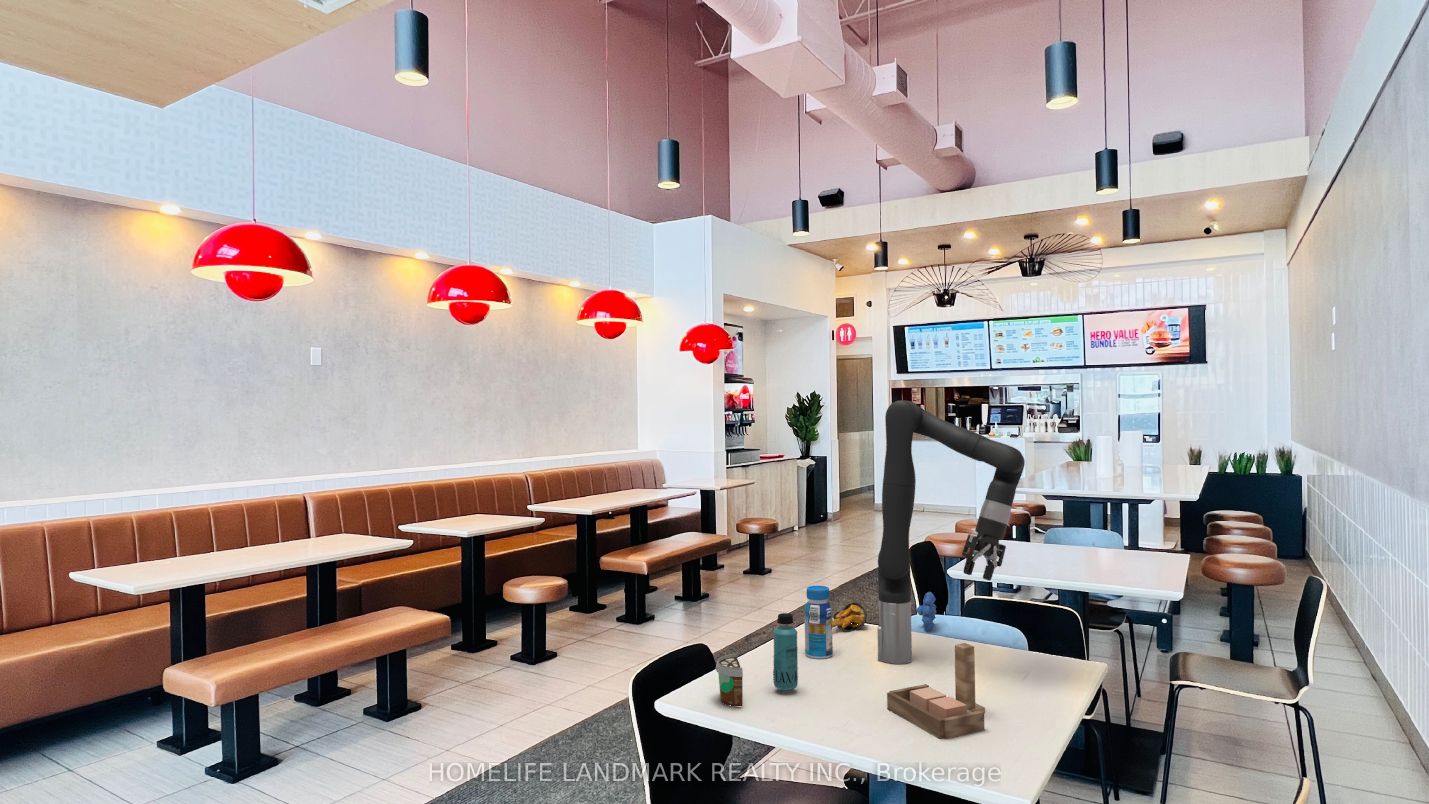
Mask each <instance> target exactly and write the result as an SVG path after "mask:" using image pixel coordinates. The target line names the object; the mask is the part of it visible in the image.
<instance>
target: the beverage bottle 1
mask: <svg viewBox="0 0 1429 804" xmlns="http://www.w3.org/2000/svg"><path fill="white" fill-rule="evenodd" d="M777 624H779V626H777V627H775V629H774V630H773V656H772V658H773V660H772V661H773V669H772V670H773V671H772V672H773V673H772V674H773V677H772V681H773V685H774V688H776V689H779V690H788V691H789V690H793V689H796V688H797V687H798V685H799V673H798V672H799V666H798V650H799V648H798V630H797V629H796V628H795V627H794V626H792V625H793V624H794V617H793V614H792V613H789V612H788V613H787V612H785V613H784V612H783V613H782V612H781V613H778V615H777Z"/></svg>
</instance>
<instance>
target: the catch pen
mask: <svg viewBox="0 0 1429 804" xmlns="http://www.w3.org/2000/svg"><path fill="white" fill-rule="evenodd" d="M928 687H930V685H928V684H926V683H925V684H924V683H923V684H920V685H915V686H910V687H904V688H899V689H898V688H897V689H894V690H889V692H886V707H887V710H888V711H890V712H891V713H893V714H895V715H897V716H898V717H901V718H903V719H904V720H906V721H908V722H909V723H910V724H913V725H915V726H916V727H918V728H920V729H922V730H923V731H925V732H927V733H929V734H931V735H933V736H934V737H936V739H937V738H938V739H940V740H941V739H945V740H947V739H951V738H952V739H953V738H956V737H960V736H965V735H969V734H973V733H978V732H982V731H985V713H984V712H983V711H976V712H971V713H967V714H962V715H957V716H953V717H948V718H944V719H941V718H939V717H938V716H936V715H934V714H932V713H930V712H928V711H926V710H924V709H922V708H921V707H919V706H917V705H915V704H913V703H911V702H910V691H912V690H917V689H923V688H928Z"/></svg>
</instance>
